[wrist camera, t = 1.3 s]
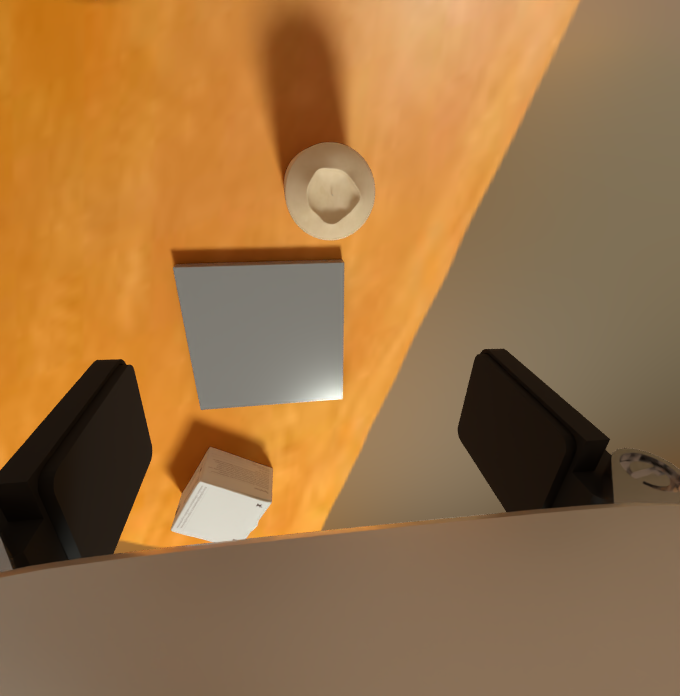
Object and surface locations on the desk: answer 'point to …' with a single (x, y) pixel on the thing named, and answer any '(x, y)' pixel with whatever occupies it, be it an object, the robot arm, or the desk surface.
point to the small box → (224, 498)
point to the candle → (329, 190)
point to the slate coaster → (264, 330)
